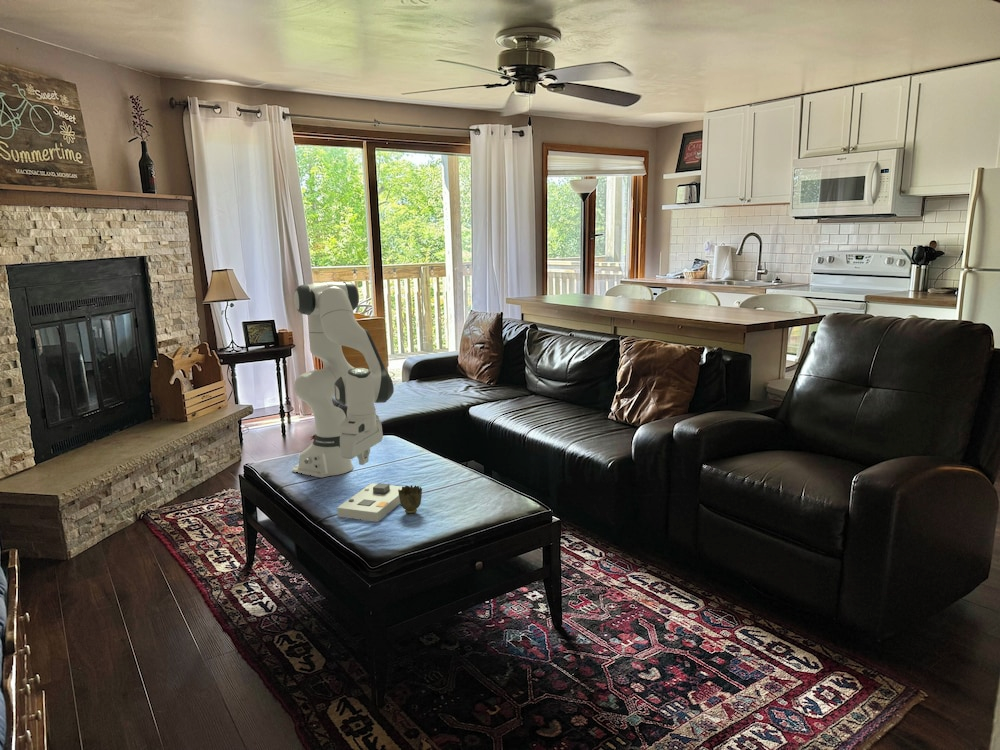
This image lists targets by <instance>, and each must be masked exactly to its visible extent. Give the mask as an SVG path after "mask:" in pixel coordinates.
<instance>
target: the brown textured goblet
mask: <svg viewBox="0 0 1000 750" xmlns="http://www.w3.org/2000/svg"><path fill="white" fill-rule="evenodd" d="M398 492H399V499H400V506H401V508H402V509H404V512H405V514H406V515H409V514H412V515H415V514H416V513H417V512H418V510H417V509H418V508H419V507H421V506H420V505H421V504H422V495H423V494H422V493H423V488H422V487H421V486H419V485H414V486H413V485H409V486H408V485H405V486H402V490H398Z"/></svg>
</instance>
